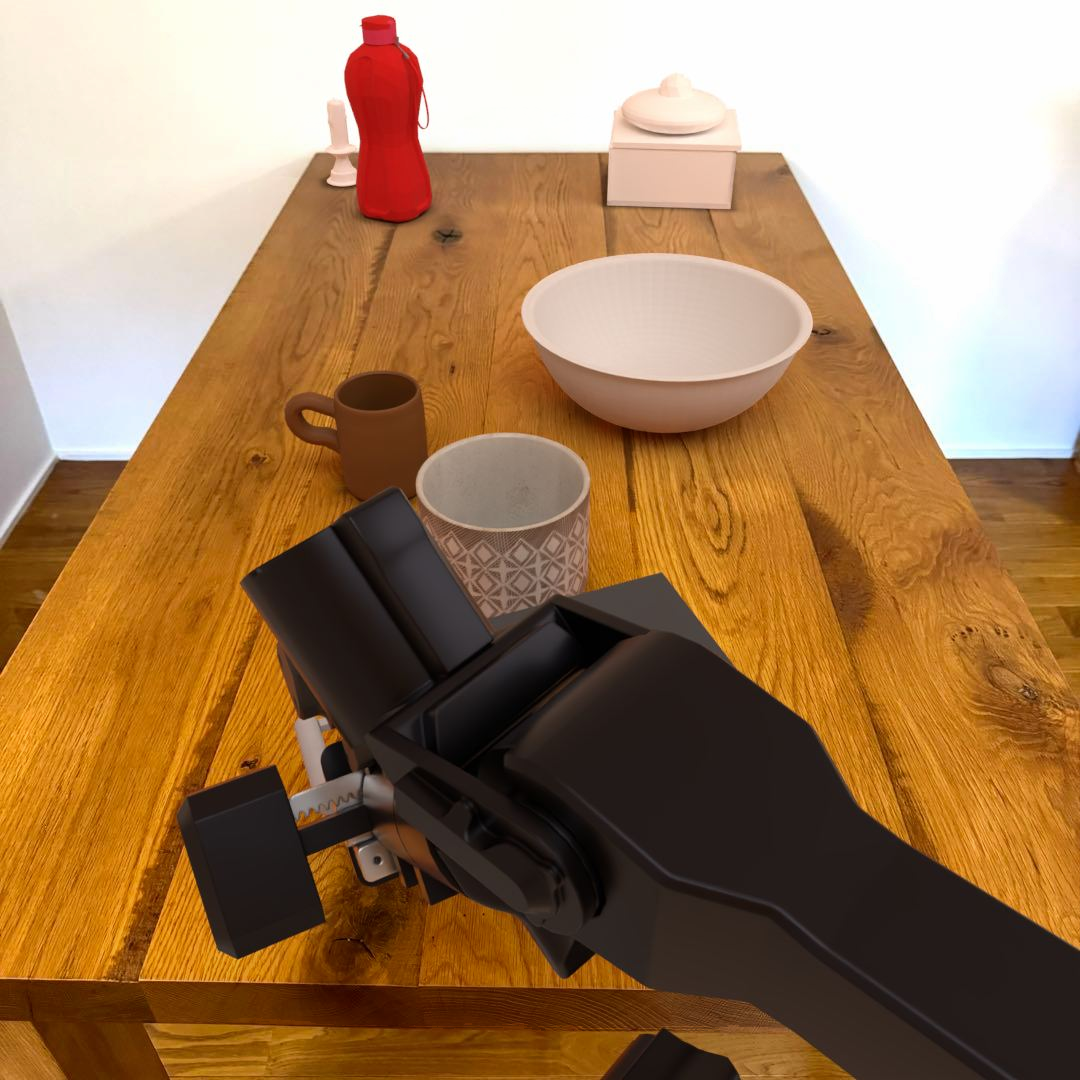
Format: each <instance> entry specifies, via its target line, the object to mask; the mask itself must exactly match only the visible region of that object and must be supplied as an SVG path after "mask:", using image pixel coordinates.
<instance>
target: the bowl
mask: <svg viewBox="0 0 1080 1080" xmlns="http://www.w3.org/2000/svg"><path fill="white" fill-rule="evenodd" d="M520 313H521V320H522V323H523V326H524V327H525V329H526V331H527V333H528V334H529V335H530V336H531V338H532V339H533V342H534V344H535V347H536V350H537V352H538V355H539V357H540V359H541V360H542V363H543V364H544V366H545V367H546V369H547V371H548V373H549V374H550V376H551V377H552V378H553V380H554V382H556V384H557V385H558V386H559V387H560V388H561V390H562V391H563V392H564V393H565V394H566V395H567V396H568V397H569V398H570V399H571V400H572V401H573V402H575V403H576V404H577V405H578V406H580V407H581V408H583V409H584V410H586V411H587V412H588V413H590V414H592V415H593V416H595V417H597V418H598V419H601V420H603V421H605V422H608V423H610V424H613V425H616V426H619V427H622V428H625V429H630V430H634V431H639V432H646V433H658V434H675V433H676V434H677V433H687V432H693V431H698V430H704V429H708V428H710V427H715V426H717V425H719V424H722V423H724V422H727V421H729V420H731V419H733V418H735V417H737V416H738V415H740V414H742V413H743V412H745V411H747V410H748V409H750V408H751V407H752V406H754V405H755V404H756V403H758V402H759V401H760V400H761V399H762V398H764V396H765V395H767V393H768V392H769V391H770V390H771V389H772V388H773V387H774V386H775V385H776V384H777V382H778V381H780V379H781V377H782V376H783V375H784V373H785V372H786V370H787V369H788V367H789V366H790V364H791V362H792V361H793V359H794V358H795V355H796V354H797V352H798V351H800V350H801V349H802V348H803V346H804V345H805V344H806V343H807V341H808V340H809V338H810V337H811V333H812V331H813V325H814V321H813V320H814V319H813V315H812V312H811V309H810V307H809V306H808V304H807V303H806V301H805V300H804V299H803V298H802V297H801V295H799V294H798V293H797V292H796V291H795V290H794V289H792V288H791V287H790V286H788V285H787V284H785V283H784V282H782V281H780V280H778V279H777V278H775V277H773V276H770V275H769V274H767V273H765V272H762V271H759V270H757V269H754V268H751V267H748V266H745V265H743V264H739V263H735V262H731V261H727V260H723V259H719V258H713V257H707V256H700V255H692V254H685V253H669V252H668V253H666V252H664V253H663V252H646V253H645V252H644V253H643V252H642V253H627V254H618V255H609V256H604V257H598V258H594V259H589V260H585V261H582V262H581V261H580V262H578V263H574V264H572V265H569V266H566V267H564V268H561V269H559V270H557V271H554V272H553V273H551V274H549V275H547V276H546V277H543V278H542V279H541V280H540V281H538V282H537V283H536V284H535V285H533V286H532V288H531V289H530V290H529V291H528V292H527V294H526V295H525V297H524V299H523V301H522V304H521V309H520Z"/></svg>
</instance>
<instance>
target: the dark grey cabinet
mask: <svg viewBox="0 0 1080 1080" xmlns="http://www.w3.org/2000/svg"><path fill="white" fill-rule="evenodd" d="M569 598H571V599H574V600H576V601H579V602H581V603H584V604H586V605H589V606H592V607H594V608H597V609H599V610H602V611H604V612H607V613H609V614H612V615H614V616H617V617H619V618H622V619H624V620H627V621H630V622H632V623H635V624H637V625H640V626H642V627H645V628H647V629H650V630H654V629H656V630H662V631H668V632H673V633H675V634H678V635H680V636H682V637H685V638H687V639H689V640H692V641H694V642H696V643H699V644H701V645H703V646H705V647H707V648H708V649H710V650H711V651H713V652H714V653H716V654H717V655H719V656H720V657H721V658H723V659H724V660H725V661H727V662H728V663H729V664H731V665H732V666H733V667H735V668H736V669H737V667H736V666H735V664H733V662H732V660H730V658H729V657H728V655H727V654H726V653H725V652H724V650H723V648H721V646H720V645H719V644H718V642H716V640H715V638H714V637H713V636H712V634H710V632H709V631H708V629H707V628H706V627H705V625H704V624H703V623H702V622H701V621H700V619H699V618H698V616H697V615H696V614H695V613H694V611H692V609H691V607H690V606H689V605H688V604H687V602H686V601H685V600H684V598H683V597H682V596H681V595H680V594H679V592H678V591H677V589H676V588H675V587H674V586H673V585H672V583H671V582H670V580H669V579H668V578H667V576H666V575H665V574H664V573H663V572H662V571H659V572H657V573H653V574H650V575H649V574H648V575H645V576H642V577H639V578H635V579H631V580H628V581H627V580H626V581H624V582H619V583H616V584H612V585H609V586H604V587H601V588H597V589H593V590H589V591H586V592H584V593H582V594H578V595H574V596H571V597H569ZM538 606H539V605H537V606H533V607H530V608H526V609H522V610H518V611H515V612H511V613H507V614H504V615H500V616H496V617H492V618H489V619H488V621H489V622H490V624H491V625H492V627H493V628H494V630H499V629H501V628H504V627H506V626H508V625H510V624H512V623H514V622H516V621H518V620H520V619H522V618H523V617H524V616H526V615H527V614H528V613H530V612H531V611H532V610H534V609H535V608H536V607H538ZM542 706H543V705H542ZM542 706H541V707H542ZM538 709H539V708H538ZM538 709H537V710H538ZM537 710H536V711H537ZM536 711H535V712H536Z"/></svg>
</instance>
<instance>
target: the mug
mask: <svg viewBox="0 0 1080 1080" xmlns="http://www.w3.org/2000/svg"><path fill="white" fill-rule="evenodd" d="M306 410H307V411H312V412H314V413H318V414H321V415H324V416H327V417H330V418H333V419H334V420H335V421H334V422H335V426H336V427H335V428H336V429H335V428H332V427H330V426H317V425H313V424H311V423H310V422H309V421H307V420H306V418H305V416H304V414H303V411H306ZM425 412H426V411H425V404H424V399H423V393H422V389H421V385H420V383H419V382H418V381H417V380H416V379H415V378H414V377H413V376H411V375H409V374H407V373H404V372H401V371H397V370H396V371H395V370H388V369H387V370H385V369H379V370H369V371H364V372H360V373H357V374H354V375H351V376H349V377H347V378H345V379H344V380H342V381H341V382H340V383H338V385H337V386H336V388H335V390H334V391H333V397H331V396H327V395H324V394H321V393H318V392H315V391H305V392H300V393H297V394H294V395H292V396H291V398H290V399H289V400H288V401H287V402H286V403H285V406H284V421H285V424H286V426H287V428H288V429H289V431H290V432H291V433H292V434H293V435H294V436H295V437H296V438H298V439H299V440H300V441H302V442H304V443H306V444H309V445H314V446H320V447H326V448H328V450H330V451H331V450H332V451H333V452H335V453H336V454H338V455H339V456H340V459H341V467H342V472H343V479H344V482H345V485H346V487H347V490H348V491H349V492H350V493H351V495H353V496H354V497H355V498H357V499H359V500H361V501H363V502H364V501H366V500H368V499H370V498H371V497H373V496H375V495H377V494H378V493H380V492H382V491H384V490H385V489H387V488H389V487H391V486H395V487H397V488H399V489H402V491H403V492H404V494H405V495H406V497H407V498H408V500H409V499H411V498H413V497H415V496H417V494H416V477H417V474H418V472H419V470H420V468H421V466H422V465H423V464H424V462H425V461H426V460H427V459H428V458H429V452H428V451H429V450H428V435H427V424H426V423H427V422H426V413H425Z"/></svg>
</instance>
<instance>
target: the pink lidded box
mask: <svg viewBox="0 0 1080 1080" xmlns="http://www.w3.org/2000/svg"><path fill="white" fill-rule="evenodd" d="M738 121H739V120H738V115H737V109H736V108H728V107H727V105H726V103H725V102H724V101H723V100H722V99H721V98H719V97H718V96H716V95H714V94H713V93H710V92H707V91H705V90H701V89H698V88H693V84H692V81H691V80H690V79H689V78H688V77H686V76H685V75H684V74H683V73H678V72H675V73H671V74H669V75H668V76H666V77H665V78H663V79H662V80H661V82H660V84H659V87H652V88H647V89H645V90H641V91H638V92H636V93H634V94H631V95H630V96H629V97H627V98H626V99H625V100H624V101H623V103H622V105H618V106H617V110H616V109H614V110H613V122H612V127H611V134H610V140H609V145H608V164H607V165H608V167H607V168H608V169H607V191H606V192H607V194H606V195H607V196H606V206H612V207H613V206H617V207H642V208H643V207H646V208H647V207H649V208H679V209H705V210H706V209H709V210H710V209H711V210H731V207H732V199H733V192H734V191H733V189H734V179H735V170H736V162H737V154H738V152H742V147H743V146H742V145H743V144H742V140H741V133H740V128H739V122H738Z"/></svg>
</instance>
